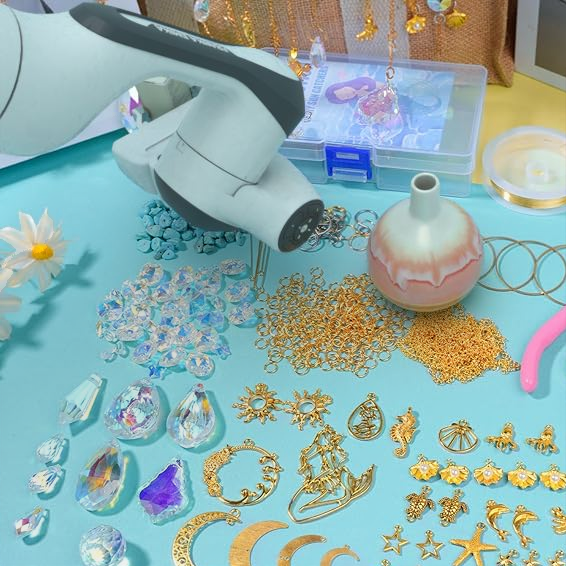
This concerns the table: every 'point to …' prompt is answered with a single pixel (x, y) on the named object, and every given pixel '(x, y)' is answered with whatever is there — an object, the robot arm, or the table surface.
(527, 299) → the table surface
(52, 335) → the table surface
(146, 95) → the box
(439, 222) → the vase
